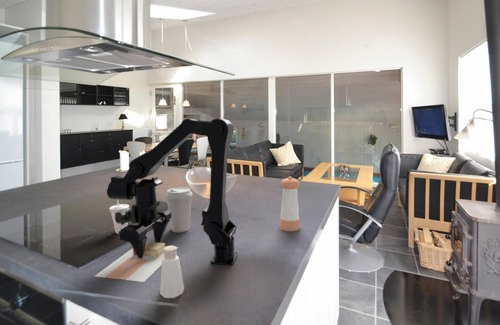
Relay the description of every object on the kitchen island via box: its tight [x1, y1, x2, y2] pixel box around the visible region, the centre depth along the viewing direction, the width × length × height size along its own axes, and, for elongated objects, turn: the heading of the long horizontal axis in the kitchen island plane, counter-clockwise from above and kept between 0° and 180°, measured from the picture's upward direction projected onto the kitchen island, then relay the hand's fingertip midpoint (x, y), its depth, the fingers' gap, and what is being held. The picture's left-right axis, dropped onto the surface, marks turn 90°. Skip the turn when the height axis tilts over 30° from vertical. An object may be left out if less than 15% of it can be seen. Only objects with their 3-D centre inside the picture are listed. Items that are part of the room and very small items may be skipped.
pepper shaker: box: [159, 245, 185, 299], centre depth 62 cm, size 5×5×11 cm
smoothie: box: [109, 199, 130, 235], centre depth 97 cm, size 6×6×14 cm
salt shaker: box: [279, 176, 301, 232], centre depth 100 cm, size 7×7×19 cm
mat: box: [94, 245, 180, 283], centre depth 78 cm, size 19×14×1 cm
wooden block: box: [132, 241, 166, 257], centre depth 82 cm, size 8×4×2 cm, turn 79°
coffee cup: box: [164, 186, 194, 233], centre depth 99 cm, size 10×10×15 cm
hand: (149, 250), depth 82 cm, fingers open, 9 cm apart
